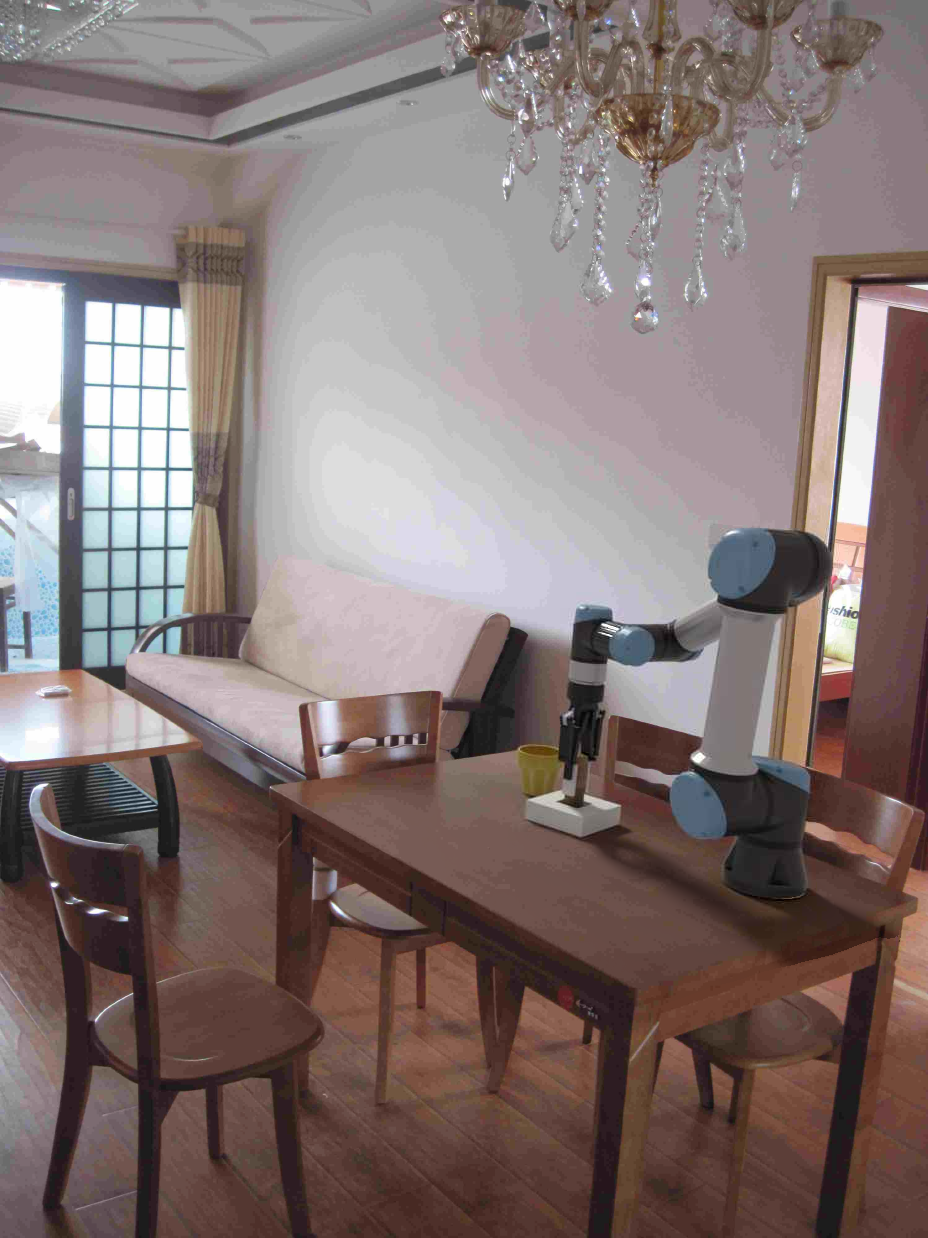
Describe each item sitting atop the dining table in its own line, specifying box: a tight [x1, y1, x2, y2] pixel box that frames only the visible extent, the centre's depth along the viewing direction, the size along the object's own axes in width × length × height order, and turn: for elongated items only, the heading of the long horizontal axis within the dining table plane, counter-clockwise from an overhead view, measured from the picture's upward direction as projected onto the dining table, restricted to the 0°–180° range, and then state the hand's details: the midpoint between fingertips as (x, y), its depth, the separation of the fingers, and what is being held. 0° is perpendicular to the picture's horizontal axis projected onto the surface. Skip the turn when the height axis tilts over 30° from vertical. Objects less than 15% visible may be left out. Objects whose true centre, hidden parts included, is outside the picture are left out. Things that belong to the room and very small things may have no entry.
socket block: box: [524, 789, 622, 838], centre depth 237 cm, size 14×14×4 cm
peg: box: [564, 752, 588, 809], centre depth 236 cm, size 4×4×12 cm
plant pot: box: [516, 744, 564, 797], centre depth 255 cm, size 10×10×10 cm
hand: (574, 792), depth 236 cm, fingers closed on peg, 4 cm apart
